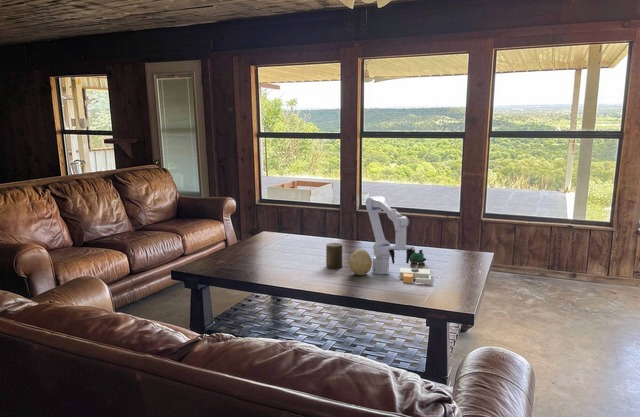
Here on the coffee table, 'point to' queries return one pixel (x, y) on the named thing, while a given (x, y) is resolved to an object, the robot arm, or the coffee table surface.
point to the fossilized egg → (360, 262)
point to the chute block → (407, 277)
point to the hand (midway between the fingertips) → (400, 263)
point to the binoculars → (417, 258)
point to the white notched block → (417, 274)
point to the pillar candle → (334, 255)
